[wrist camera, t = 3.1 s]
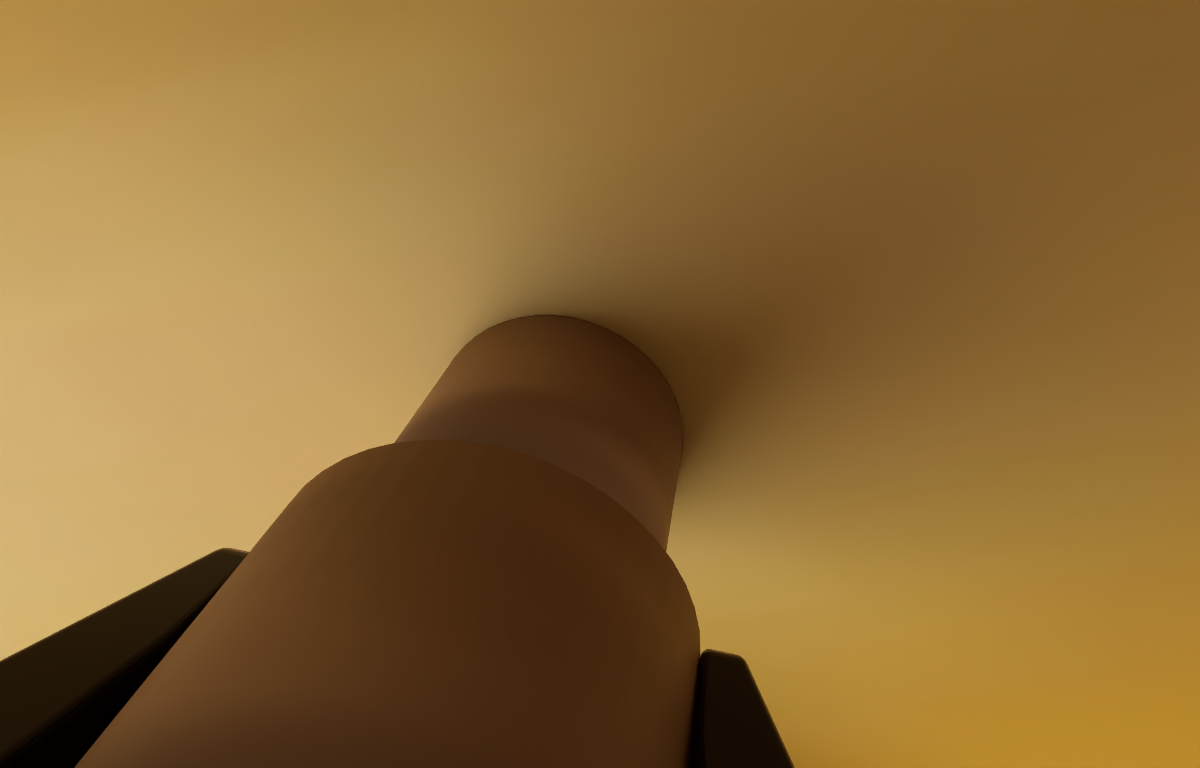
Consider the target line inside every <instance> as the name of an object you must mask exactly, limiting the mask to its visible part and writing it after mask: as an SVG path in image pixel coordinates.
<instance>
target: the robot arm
mask: <svg viewBox="0 0 1200 768" xmlns="http://www.w3.org/2000/svg"><path fill="white" fill-rule="evenodd" d="M248 554H249V552H246V551H241V550H237V549H232V548H222V549H219V550H216V551H214V552H212V553H210V554H208V555H206V556H204V557H202V558H200V559H198V560H196V561H194V562H192V563H191V564H189V565H187V566H185V567H183V568H181V569H179V570H177V571H175V572H173V573H171V574H169V575H167V576H165V577H163V578H161V579H159V580H157V581H155V582H153V583H152V584H150V585H148V586H146V587H144V588H142V589H140V590H138V591H136V592H134V593H132V594H130V595H128V596H126V597H124V598H122V599H120V600H118V601H116V602H114V603H112V604H111V605H109V606H107V607H105V608H103V609H101V610H99V611H97V612H95V613H93V614H91V615H89V616H87V617H85V618H83V619H81V620H79V621H77V622H75V623H73V624H72V625H70V626H68V627H66V628H64V629H62V630H60V631H58V632H56V633H54V634H52V635H50V636H48V637H46V638H44V639H42V640H40V641H38V642H36V643H34V644H32V645H31V646H29V647H27V648H25V649H23V650H21V651H19V652H17V653H15V654H13V655H11V656H9V657H7V658H5V659H3V660H1V661H0V768H74V767H75V766H76V765H77V764H78V762H79V761H80V760H81V759H82V757H83V756H84V755H85V754H86V753H87V751H88V750H89V749H90V748H91V746H92V745H93V744H94V743H95V741H96V740H97V739H98V738H99V737H100V735H101V734H102V733H103V732H104V730H105V729H106V728H107V727H108V726H109V724H110V723H111V722H112V721H113V719H114V718H115V717H116V716H117V714H118V713H119V712H120V711H121V710H122V708H123V707H124V706H125V705H126V703H127V702H128V701H129V700H130V698H131V697H132V696H133V695H134V694H135V692H136V691H137V690H138V689H139V687H140V686H141V685H142V684H143V683H144V681H145V680H146V679H147V678H148V676H149V675H150V674H151V673H152V671H153V670H154V669H155V668H156V667H157V665H158V664H159V663H160V662H161V660H162V659H163V658H164V657H165V656H166V654H167V653H168V652H169V651H170V649H171V648H172V647H173V646H174V644H175V643H176V642H177V641H178V640H179V638H180V637H181V636H182V635H183V633H184V632H185V631H186V630H187V628H188V627H189V626H190V625H191V624H192V622H193V621H194V620H195V619H196V617H197V616H198V615H199V614H200V613H201V611H202V610H203V609H204V608H205V606H206V605H207V604H208V603H209V601H210V600H211V599H212V598H213V597H214V595H215V594H216V593H217V592H218V590H219V589H220V588H221V587H222V585H223V584H224V583H225V582H226V581H227V579H228V578H229V577H230V576H231V574H232V573H233V572H234V571H235V570H236V568H237V567H238V566H239V565H240V563H241V562H242V561H243V560H244V558H245V557H246V556H247V555H248ZM690 768H795V767H794V765H793V763H792V761H791V759H790V756H789V754H788V752H787V750H786V748H785V746H784V743H783V741H782V739H781V737H780V735H779V732H778V730H777V728H776V726H775V724H774V722H773V719H772V717H771V715H770V713H769V711H768V708H767V706H766V704H765V702H764V700H763V698H762V695H761V693H760V691H759V689H758V687H757V685H756V682H755V680H754V678H753V676H752V674H751V671H750V669H749V667H748V665H747V663H746V661H745V660H744V659H743V658H742V657H741V656H739V655H735V654H730V653H726V652H721V651H716V650H712V649H707V650H705V651H703V653H702V654H701V657H700V661H699V672H698V684H697V695H696V707H695V718H694V730H693V741H692V753H691V764H690Z"/></svg>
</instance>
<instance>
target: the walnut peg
mask: <svg viewBox="0 0 1200 768" xmlns="http://www.w3.org/2000/svg"><path fill="white" fill-rule="evenodd" d="M682 443H683V431H682V421H681V416H680V411H679V408H678V405H677V402H676V399H675V396H674V394H673V392H672V390H671V388H670V386H669V385H668V383H667V381H666V380H665V378H664V377H663V375H662V374H661V372H660V371H659V370H658V368H657V367H656V366H655V365H654V364H653V363H652V362H651V361H650V359H649V358H648V357H647V356H646V355H645V354H643V353H642V352H641V351H640V350H639V349H638V348H636V347H635V346H634V345H633V344H631V343H630V342H628V341H627V340H625V339H624V338H622V337H621V336H619V335H617V334H615V333H613V332H611V331H609V330H607V329H605V328H603V327H601V326H598V325H595V324H592V323H590V322H587V321H583V320H579V319H574V318H570V317H562V316H529V317H522V318H517V319H513V320H510V321H506V322H503V323H501V324H498V325H496V326H493V327H491V328H489V329H487V330H486V331H484V332H482V333H481V334H479V335H477V336H476V337H475V338H474V339H472V340H471V341H470V342H469V343H468V344H466V345H465V346H464V347H463V349H462V350H461V351H460V352H459V353H458V354H457V355H456V357H455V358H454V359H453V361H452V362H451V364H450V365H449V367H448V368H447V369H446V371H445V372H444V374H443V375H442V376H441V378H440V379H439V381H438V382H437V383H436V385H435V386H434V388H433V389H432V391H431V392H430V393H429V395H428V396H427V398H426V399H425V400H424V402H423V403H422V405H421V406H420V408H419V409H418V410H417V412H416V413H415V415H414V416H413V417H412V419H411V420H410V422H409V423H408V424H407V426H406V427H405V429H404V430H403V432H402V433H401V434H400V436H399V437H398V439H397V440H396V441H395V443H393V444H389V445H384V446H380V447H376V448H372V449H368V450H365V451H363V452H360V453H358V454H355V455H352V456H350V457H347V458H345V459H343V460H341V461H339V462H337V463H336V464H334V465H332V466H331V467H329V468H327V469H325V470H324V471H322V472H321V473H320V474H318V475H317V476H316V477H315V478H313V479H312V480H311V481H310V482H309V483H307V484H306V485H305V486H304V487H303V488H302V489H301V490H300V492H299V493H298V494H297V495H296V496H295V497H294V499H293V500H292V501H291V502H290V503H289V504H288V506H287V507H286V508H285V509H284V511H283V512H282V513H281V514H280V515H279V517H278V518H277V519H276V520H275V522H274V523H273V524H272V525H271V527H270V528H269V529H268V530H267V531H266V533H265V534H264V535H263V536H262V538H261V539H260V540H259V541H258V543H257V544H256V545H255V546H254V547H253V549H252V550H251V551H250V552H249V554H248V555H247V556H246V557H245V558H244V560H243V561H242V562H241V563H240V565H239V566H238V567H237V568H236V570H235V571H234V572H233V573H232V574H231V576H230V577H229V578H228V579H227V581H226V582H225V583H224V584H223V585H222V587H221V588H220V589H219V590H218V592H217V593H216V594H215V595H214V597H213V598H212V599H211V600H210V601H209V603H208V604H207V605H206V606H205V608H204V609H203V610H202V611H201V613H200V614H199V615H198V616H197V617H196V619H195V620H194V621H193V622H192V624H191V625H190V626H189V627H188V628H187V630H186V631H185V632H184V633H183V635H182V636H181V637H180V638H179V640H178V641H177V642H176V643H175V644H174V646H173V647H172V648H171V649H170V651H169V652H168V653H167V654H166V656H165V657H164V658H163V659H162V660H161V662H160V663H159V664H158V665H157V667H156V668H155V669H154V670H153V671H152V673H151V674H150V675H149V676H148V678H147V679H146V680H145V681H144V683H143V684H142V685H141V686H140V687H139V689H138V690H137V691H136V692H135V694H134V695H133V696H132V697H131V698H130V700H129V701H128V702H127V703H126V705H125V706H124V707H123V708H122V710H121V711H120V712H119V713H118V714H117V716H116V717H115V718H114V719H113V721H112V722H111V723H110V724H109V726H108V727H107V728H106V729H105V730H104V732H103V733H102V734H101V735H100V737H99V738H98V739H97V740H96V741H95V743H94V744H93V745H92V746H91V748H90V749H89V750H88V751H87V753H86V754H85V755H84V756H83V757H82V759H81V760H80V761H79V762H78V764H77V765H76V766H75V767H74V768H690V764H691V753H692V741H693V730H694V718H695V707H696V695H697V684H698V672H699V661H700V631H699V626H698V621H697V617H696V612H695V607H694V605H693V602H692V599H691V597H690V594H689V592H688V589H687V586H686V584H685V582H684V580H683V578H682V577H681V575H680V573H679V571H678V570H677V568H676V566H675V564H674V562H673V561H672V559H671V558H670V557H669V555H668V554H667V553H666V549H667V542H668V536H669V529H670V523H671V517H672V510H673V504H674V497H675V491H676V484H677V478H678V471H679V465H680V458H681V451H682Z"/></svg>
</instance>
